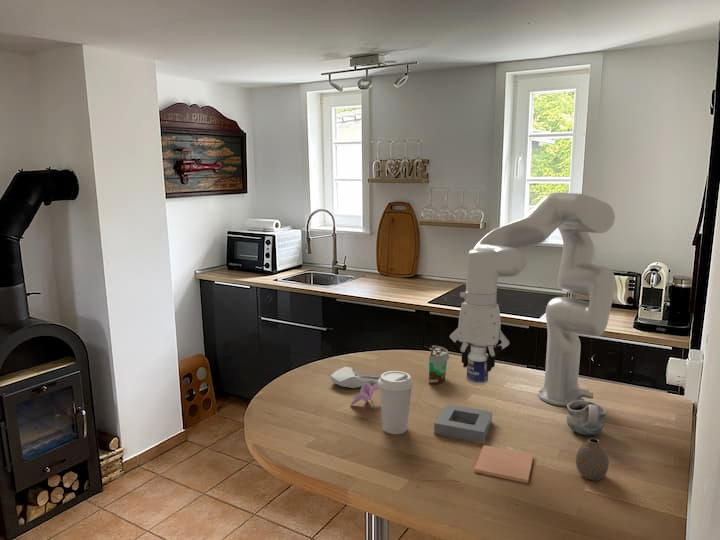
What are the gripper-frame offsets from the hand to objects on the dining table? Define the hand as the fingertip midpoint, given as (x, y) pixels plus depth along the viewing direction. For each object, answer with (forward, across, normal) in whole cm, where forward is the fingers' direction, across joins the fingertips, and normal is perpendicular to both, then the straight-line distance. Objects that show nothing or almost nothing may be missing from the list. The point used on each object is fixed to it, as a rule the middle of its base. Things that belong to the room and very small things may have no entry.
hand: (477, 366), depth 139 cm
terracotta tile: (+19, +9, -10) cm, 24 cm away
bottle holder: (+19, -4, +4) cm, 20 cm away
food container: (+20, -20, +35) cm, 45 cm away
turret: (+20, -43, +21) cm, 52 cm away
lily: (+20, -33, +5) cm, 39 cm away
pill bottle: (+4, 0, 0) cm, 4 cm away
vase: (+20, +28, -7) cm, 35 cm away
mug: (+20, +27, +14) cm, 36 cm away
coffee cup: (+20, -21, -4) cm, 29 cm away
